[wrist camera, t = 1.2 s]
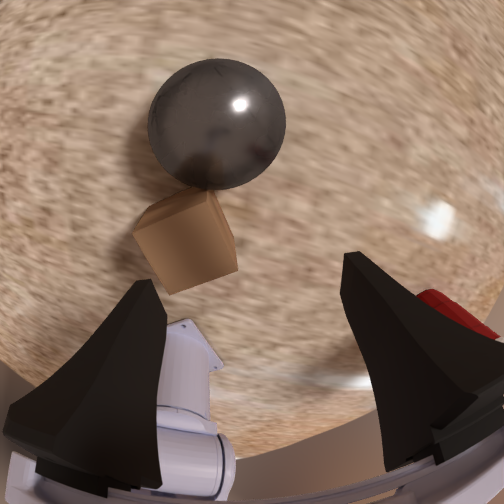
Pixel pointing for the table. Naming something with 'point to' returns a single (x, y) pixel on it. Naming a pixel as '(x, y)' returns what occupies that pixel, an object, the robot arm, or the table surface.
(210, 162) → the grey metal cylinder
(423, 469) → the robot arm
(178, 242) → the walnut block
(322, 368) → the table surface
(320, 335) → the table surface
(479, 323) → the plastic cup
